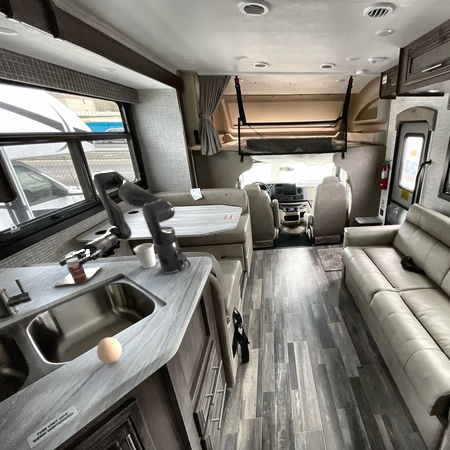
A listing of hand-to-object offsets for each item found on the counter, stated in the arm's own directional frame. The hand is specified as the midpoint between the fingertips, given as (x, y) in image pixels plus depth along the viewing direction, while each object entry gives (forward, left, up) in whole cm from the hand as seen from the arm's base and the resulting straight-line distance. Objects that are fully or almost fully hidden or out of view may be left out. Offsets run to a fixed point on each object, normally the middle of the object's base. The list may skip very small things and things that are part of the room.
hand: (70, 263), depth 106 cm
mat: (0, -1, -8) cm, 8 cm away
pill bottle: (0, -1, -7) cm, 8 cm away
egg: (-40, +49, -8) cm, 64 cm away
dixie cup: (-28, -6, -8) cm, 30 cm away
